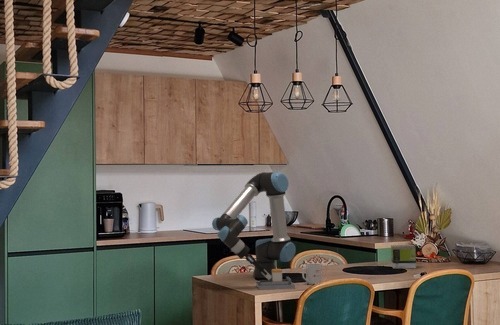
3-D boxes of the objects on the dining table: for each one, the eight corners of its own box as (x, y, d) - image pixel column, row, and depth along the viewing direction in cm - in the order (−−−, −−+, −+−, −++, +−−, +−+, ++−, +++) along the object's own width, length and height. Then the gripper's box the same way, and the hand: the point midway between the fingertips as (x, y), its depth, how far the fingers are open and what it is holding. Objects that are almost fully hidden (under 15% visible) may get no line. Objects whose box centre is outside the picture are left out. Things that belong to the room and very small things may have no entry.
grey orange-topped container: (273, 284, 386) (273, 270, 386) (271, 282, 391) (271, 269, 391) (282, 283, 386) (282, 270, 386) (280, 282, 391) (280, 268, 391)
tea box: (414, 266, 462) (413, 244, 462) (416, 268, 452) (416, 246, 452) (391, 266, 463) (391, 244, 463) (392, 268, 453) (392, 246, 453)
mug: (316, 282, 404) (316, 263, 404) (324, 284, 396) (324, 264, 396) (298, 283, 398) (298, 264, 398) (306, 286, 390) (306, 266, 390)
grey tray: (259, 289, 381) (259, 280, 381) (256, 285, 394) (256, 276, 394) (294, 288, 383) (294, 279, 383) (290, 284, 396) (290, 275, 396)
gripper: (234, 252, 392) (264, 281, 394) (236, 255, 379) (267, 285, 381) (244, 243, 393) (273, 271, 394) (246, 245, 380) (276, 275, 382)
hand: (270, 278), depth 388 cm, fingers closed
